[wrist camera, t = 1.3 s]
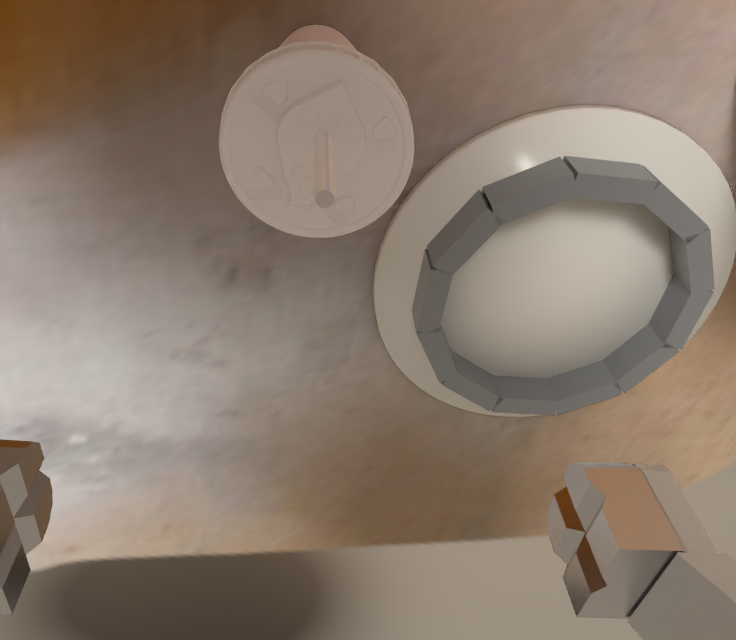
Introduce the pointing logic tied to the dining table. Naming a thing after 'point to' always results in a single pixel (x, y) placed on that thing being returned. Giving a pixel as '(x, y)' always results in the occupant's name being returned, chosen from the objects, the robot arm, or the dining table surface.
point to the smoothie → (316, 136)
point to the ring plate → (554, 261)
